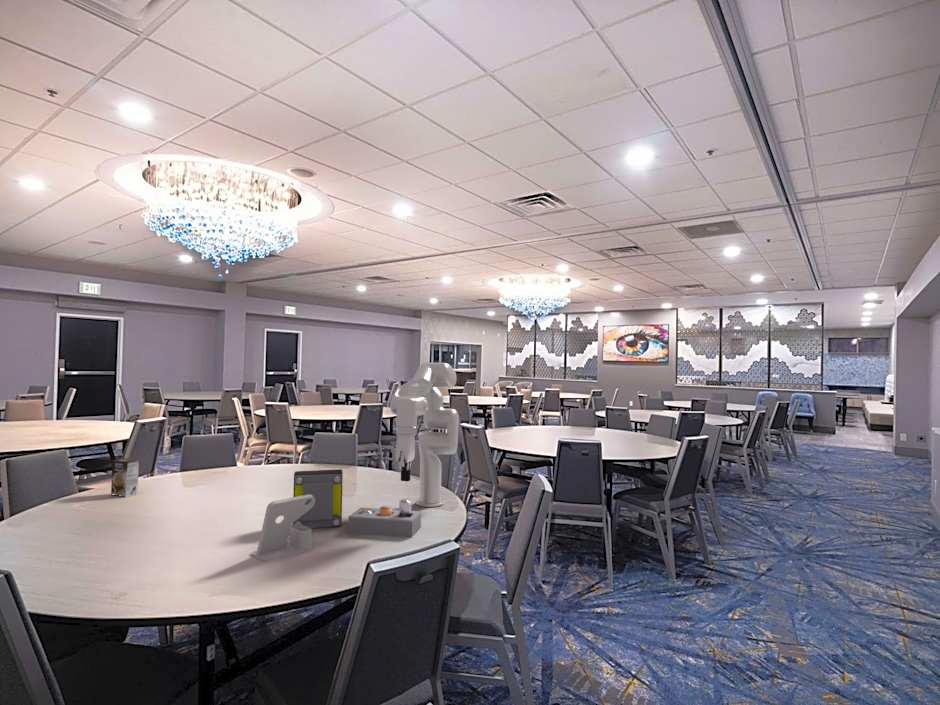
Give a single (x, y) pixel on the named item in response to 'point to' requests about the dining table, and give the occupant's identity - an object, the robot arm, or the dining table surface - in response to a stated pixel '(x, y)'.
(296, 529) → the phone holder
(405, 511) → the plunger
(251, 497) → the dining table surface
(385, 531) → the grey rectangular block
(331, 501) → the electrical component
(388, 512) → the plunger rust
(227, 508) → the dining table surface
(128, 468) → the coffee box
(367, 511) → the plunger
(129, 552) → the dining table surface
